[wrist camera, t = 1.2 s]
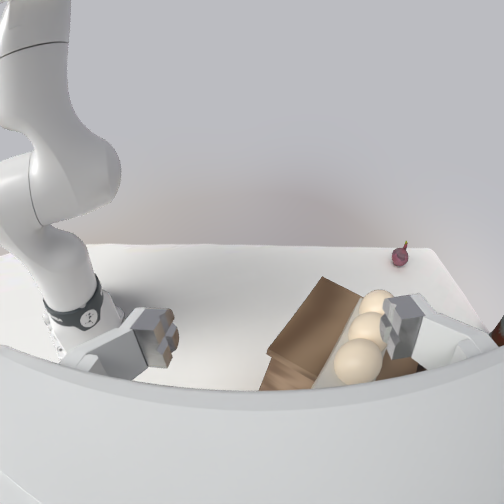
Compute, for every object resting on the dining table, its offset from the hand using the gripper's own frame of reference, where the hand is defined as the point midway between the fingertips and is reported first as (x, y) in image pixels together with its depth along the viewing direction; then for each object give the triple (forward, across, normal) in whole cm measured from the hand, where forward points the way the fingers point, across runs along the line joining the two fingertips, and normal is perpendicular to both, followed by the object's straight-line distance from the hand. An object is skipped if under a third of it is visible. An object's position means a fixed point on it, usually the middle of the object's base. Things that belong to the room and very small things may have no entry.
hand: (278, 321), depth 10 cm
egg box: (+8, -5, +13) cm, 16 cm away
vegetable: (+72, -39, +31) cm, 87 cm away
